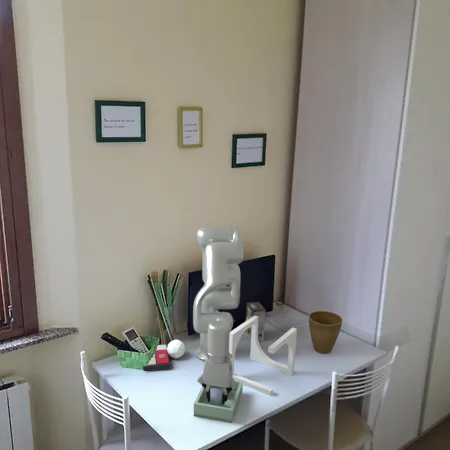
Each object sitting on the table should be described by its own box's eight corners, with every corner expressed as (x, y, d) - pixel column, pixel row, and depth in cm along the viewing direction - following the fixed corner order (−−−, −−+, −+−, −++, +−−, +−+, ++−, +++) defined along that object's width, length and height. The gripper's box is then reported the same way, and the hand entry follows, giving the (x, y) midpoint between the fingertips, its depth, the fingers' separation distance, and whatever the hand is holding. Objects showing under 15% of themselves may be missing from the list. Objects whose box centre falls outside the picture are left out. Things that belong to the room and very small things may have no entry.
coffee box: (244, 333, 226) (246, 302, 222) (257, 332, 228) (258, 301, 224) (251, 342, 218) (252, 310, 214) (264, 340, 220) (266, 309, 216)
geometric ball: (173, 364, 203) (163, 354, 198) (173, 349, 209) (163, 340, 205) (188, 357, 202) (179, 347, 197) (187, 343, 208) (178, 333, 203)
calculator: (143, 365, 191) (141, 345, 205) (143, 374, 192) (141, 353, 206) (170, 362, 193) (166, 342, 207) (170, 371, 195) (166, 351, 209)
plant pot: (342, 359, 206) (346, 325, 202) (308, 357, 206) (311, 324, 202) (335, 342, 221) (338, 310, 216) (304, 341, 221) (306, 309, 217)
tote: (207, 387, 183) (207, 375, 182) (242, 392, 180) (242, 381, 179) (193, 416, 166) (193, 403, 165) (232, 422, 163) (232, 410, 162)
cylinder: (211, 397, 172) (212, 380, 170) (225, 400, 171) (225, 383, 169) (208, 406, 167) (208, 388, 165) (221, 408, 166) (222, 391, 164)
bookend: (293, 372, 195) (297, 328, 190) (270, 396, 179) (273, 348, 174) (252, 357, 206) (254, 315, 200) (226, 378, 190) (228, 333, 184)
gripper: (244, 353, 166) (242, 398, 171) (197, 346, 170) (197, 391, 174) (239, 364, 159) (237, 411, 163) (191, 357, 162) (191, 403, 167)
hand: (216, 400), depth 169 cm, fingers closed on cylinder, 4 cm apart
